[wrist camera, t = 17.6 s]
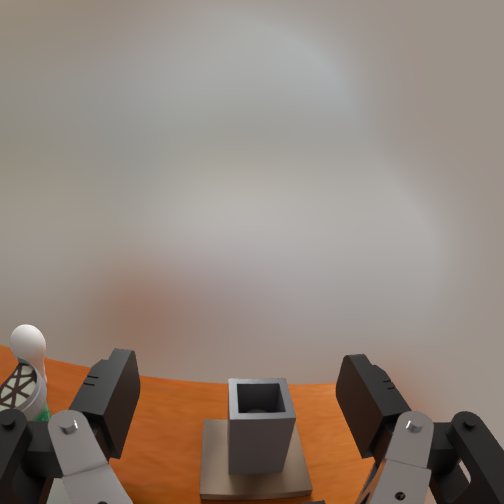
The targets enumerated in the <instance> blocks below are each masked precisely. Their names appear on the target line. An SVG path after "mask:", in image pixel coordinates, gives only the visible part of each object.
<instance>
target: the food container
mask: <svg viewBox="0 0 504 504" xmlns="http://www.w3.org/2000/svg"><path fill="white" fill-rule="evenodd" d="M17 358H18V362H19V364H18V366H17V367H16V369H15V371H14V372H13V373H12V374H11V376H10V377H9V378H8V379H7V380H6V381H5V382H4V383H3V384H2V385H1V387H0V411H2V410H5V409H10V408H13V409H18V410H20V411H21V412H23V413H24V415H25V416H26V418H27V420H28V421H49V420H50V418H51V417H52V416H51V413H50V411H49V408H48V405H47V402H46V396H47V388H46V384H45V382H44V380H43V378H42V376H41V375H40V373H39V372H38V370H37V369H36V368H35V367H34V366H33V365H32V364H31V363H30V362H29V361H27V360H26V359H23V358H20V357H17Z"/></svg>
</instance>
